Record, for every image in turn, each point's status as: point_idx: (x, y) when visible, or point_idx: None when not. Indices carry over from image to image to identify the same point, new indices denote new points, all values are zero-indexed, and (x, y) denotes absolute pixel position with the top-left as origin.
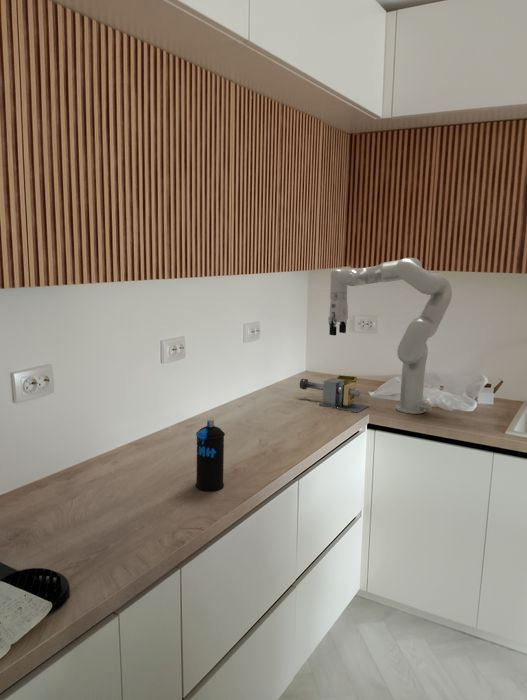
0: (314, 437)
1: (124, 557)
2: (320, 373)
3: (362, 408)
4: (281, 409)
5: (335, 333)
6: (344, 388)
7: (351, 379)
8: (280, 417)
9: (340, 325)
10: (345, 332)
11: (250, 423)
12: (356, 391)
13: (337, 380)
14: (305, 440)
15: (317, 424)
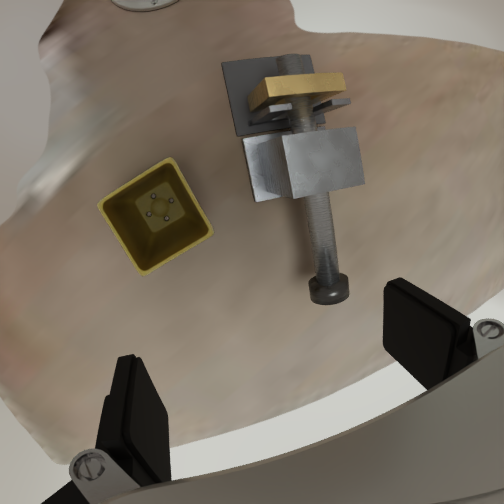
0: (476, 67)
1: None
2: (40, 433)
3: (262, 62)
4: (420, 228)
5: (411, 286)
6: (341, 91)
7: (114, 220)
8: (457, 185)
9: (164, 473)
10: (128, 355)
11: (496, 200)
12: (301, 59)
13: (317, 148)
14: (489, 74)
15: (440, 94)
